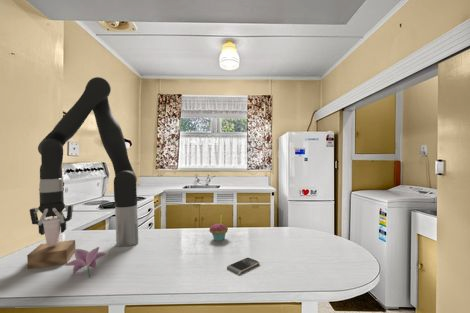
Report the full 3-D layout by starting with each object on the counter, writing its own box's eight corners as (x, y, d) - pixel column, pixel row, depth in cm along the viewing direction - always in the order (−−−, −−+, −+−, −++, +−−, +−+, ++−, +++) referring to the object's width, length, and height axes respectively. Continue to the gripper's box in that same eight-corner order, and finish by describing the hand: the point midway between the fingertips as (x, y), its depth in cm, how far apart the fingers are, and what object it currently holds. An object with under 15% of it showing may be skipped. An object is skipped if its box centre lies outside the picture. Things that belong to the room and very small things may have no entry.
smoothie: (51, 247, 92) (51, 209, 92) (37, 246, 93) (37, 209, 93) (66, 241, 98) (66, 206, 98) (53, 240, 99) (52, 206, 99)
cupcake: (231, 237, 116) (230, 212, 116) (221, 243, 109) (220, 216, 108) (216, 234, 120) (216, 210, 120) (205, 240, 113) (205, 214, 113)
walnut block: (75, 251, 103) (75, 239, 103) (66, 263, 92) (66, 249, 92) (41, 256, 99) (40, 244, 99) (27, 269, 88) (27, 255, 88)
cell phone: (260, 265, 87) (260, 261, 87) (238, 276, 79) (238, 272, 79) (248, 260, 91) (248, 256, 91) (225, 270, 84) (225, 266, 84)
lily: (114, 269, 88) (108, 243, 91) (102, 270, 78) (95, 241, 81) (79, 284, 85) (74, 257, 88) (61, 288, 75) (55, 257, 78)
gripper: (75, 187, 102) (76, 228, 102) (33, 190, 97) (34, 232, 97) (70, 190, 95) (71, 233, 95) (24, 193, 90) (25, 238, 90)
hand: (52, 233), depth 96 cm, fingers closed on smoothie, 6 cm apart
